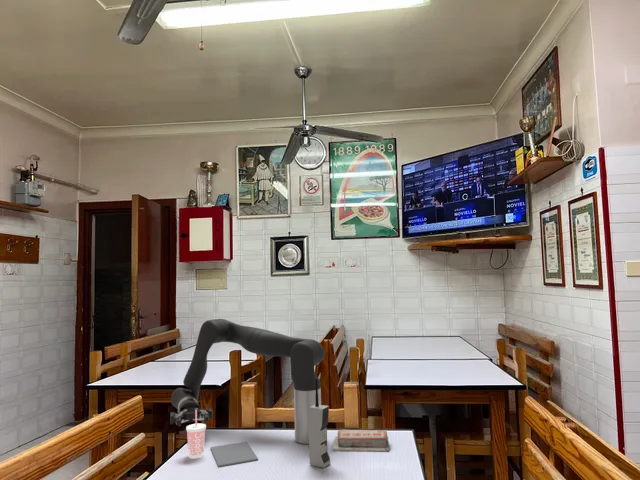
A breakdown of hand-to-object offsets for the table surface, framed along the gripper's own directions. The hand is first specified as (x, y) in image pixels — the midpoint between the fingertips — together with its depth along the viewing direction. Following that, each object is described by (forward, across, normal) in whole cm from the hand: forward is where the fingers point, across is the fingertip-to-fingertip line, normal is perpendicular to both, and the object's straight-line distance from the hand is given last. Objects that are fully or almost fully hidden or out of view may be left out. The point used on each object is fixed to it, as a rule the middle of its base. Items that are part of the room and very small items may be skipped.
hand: (193, 421), depth 152 cm
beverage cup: (+9, 0, +8) cm, 12 cm away
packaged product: (+24, +51, +9) cm, 57 cm away
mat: (+13, +11, +8) cm, 19 cm away
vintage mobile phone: (+32, +33, +8) cm, 47 cm away
